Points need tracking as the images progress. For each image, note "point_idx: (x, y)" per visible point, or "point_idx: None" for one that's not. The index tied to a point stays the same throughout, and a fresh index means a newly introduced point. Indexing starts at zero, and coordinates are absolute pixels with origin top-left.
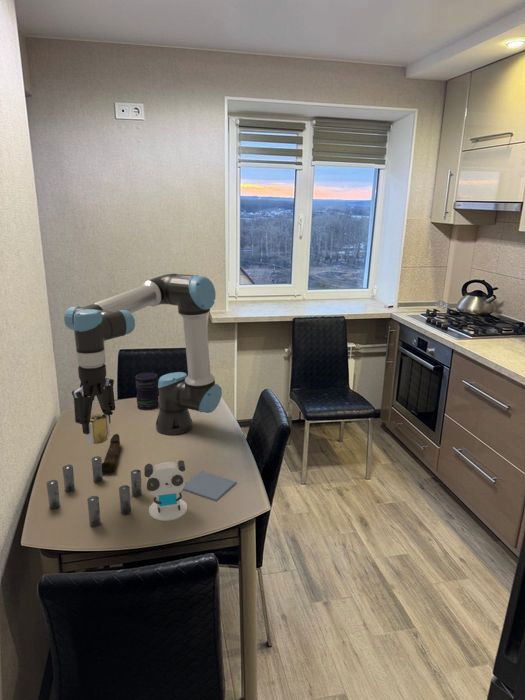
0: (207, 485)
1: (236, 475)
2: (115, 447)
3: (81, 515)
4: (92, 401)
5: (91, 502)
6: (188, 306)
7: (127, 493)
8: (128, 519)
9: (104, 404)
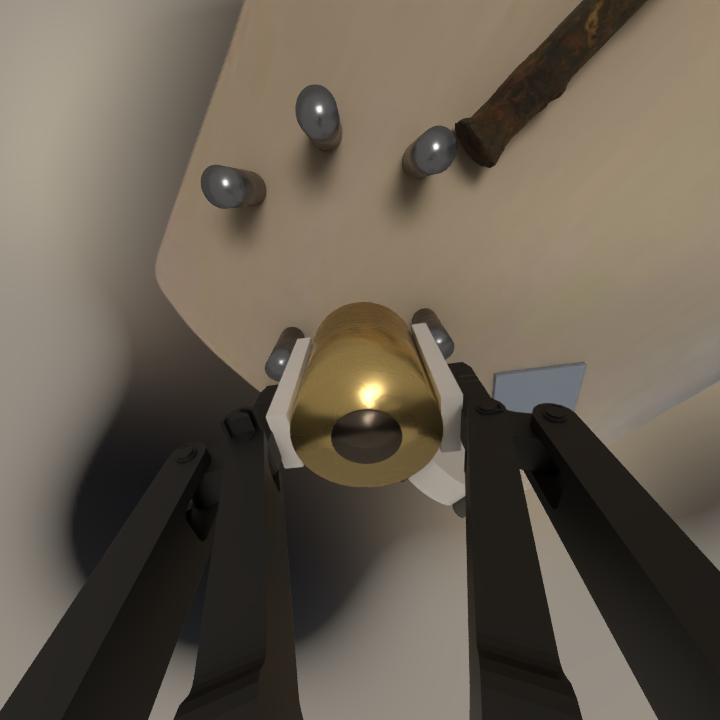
0: (528, 411)
1: (595, 421)
2: (618, 19)
3: (285, 288)
4: (294, 694)
5: (270, 376)
6: None
7: None
8: None
9: (467, 549)
